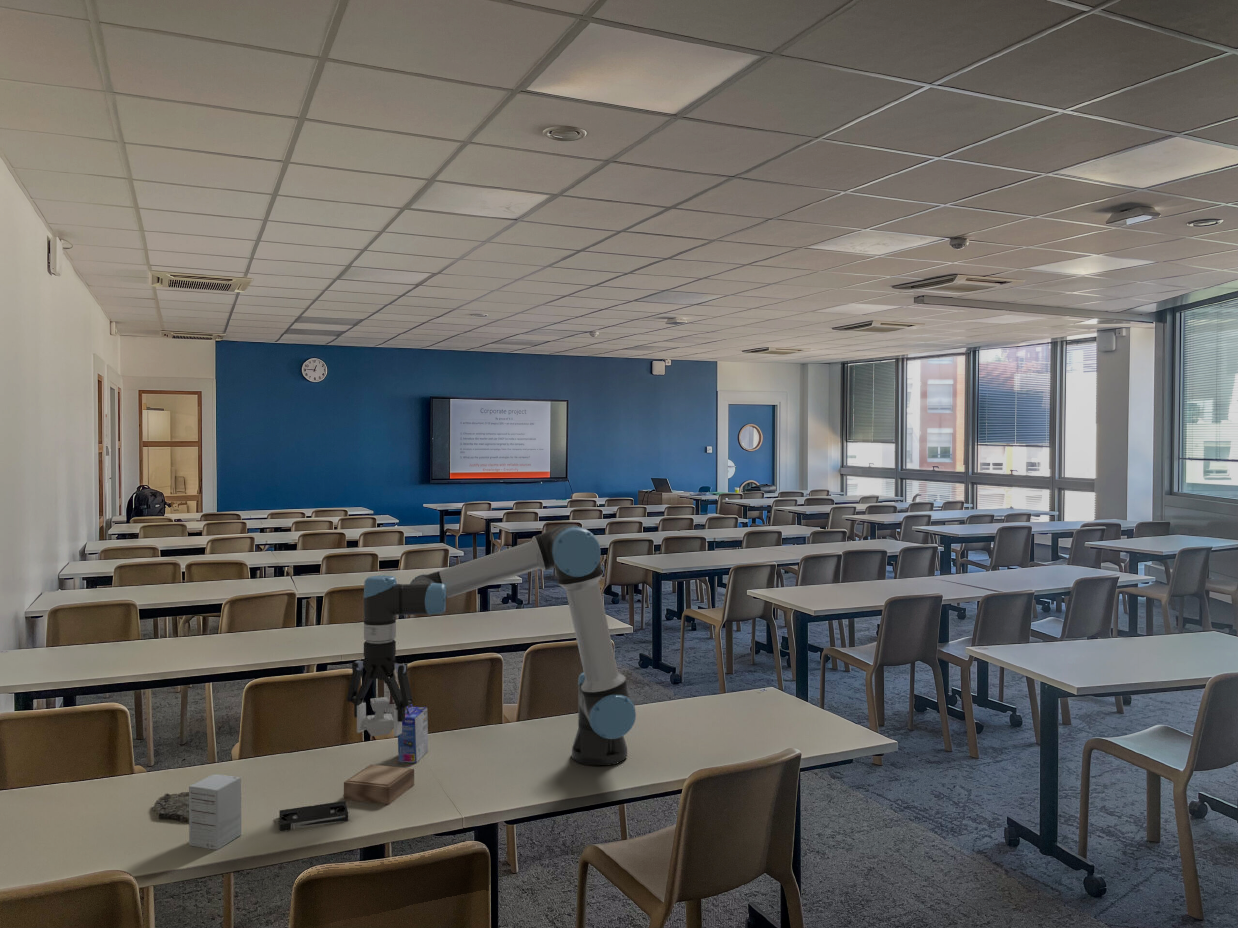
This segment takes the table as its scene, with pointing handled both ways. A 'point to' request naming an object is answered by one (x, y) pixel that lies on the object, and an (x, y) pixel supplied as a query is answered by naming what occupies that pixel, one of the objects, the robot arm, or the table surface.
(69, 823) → the table surface
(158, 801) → the stone slab
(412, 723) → the ink cartridge box
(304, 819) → the vhs tape
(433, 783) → the table surface
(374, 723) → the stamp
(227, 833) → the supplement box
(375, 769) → the plinth
